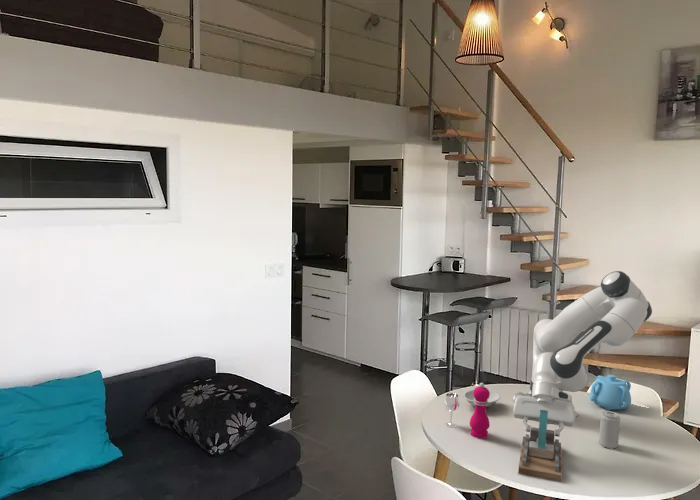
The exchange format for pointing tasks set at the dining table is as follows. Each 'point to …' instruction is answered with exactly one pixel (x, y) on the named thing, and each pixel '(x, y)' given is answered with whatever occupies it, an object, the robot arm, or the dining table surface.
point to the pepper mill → (480, 413)
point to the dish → (491, 400)
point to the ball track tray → (538, 464)
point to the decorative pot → (611, 392)
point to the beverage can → (609, 429)
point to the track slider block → (541, 440)
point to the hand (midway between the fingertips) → (542, 433)
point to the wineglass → (451, 406)
